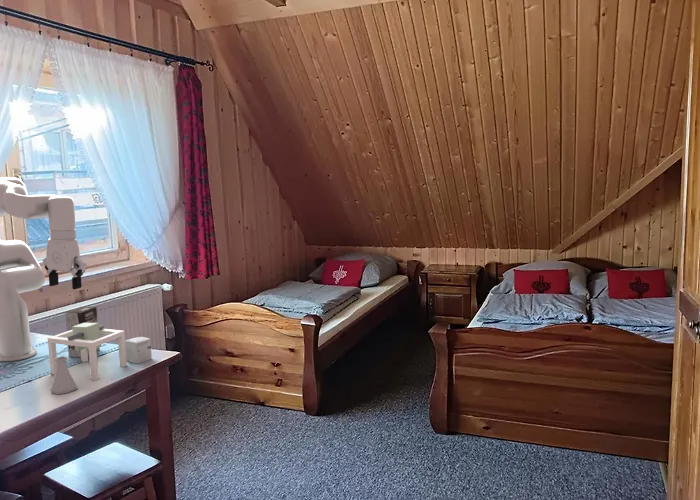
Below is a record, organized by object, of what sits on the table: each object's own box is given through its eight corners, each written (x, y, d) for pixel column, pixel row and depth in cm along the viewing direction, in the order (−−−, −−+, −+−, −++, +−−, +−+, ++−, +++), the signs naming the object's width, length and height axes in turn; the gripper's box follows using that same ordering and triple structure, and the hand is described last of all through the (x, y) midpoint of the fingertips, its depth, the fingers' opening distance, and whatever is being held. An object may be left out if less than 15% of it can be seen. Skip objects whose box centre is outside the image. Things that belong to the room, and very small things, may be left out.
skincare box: (137, 364, 189) (135, 343, 188) (125, 361, 192) (124, 340, 191) (152, 358, 194) (150, 338, 193) (140, 355, 198) (139, 335, 196)
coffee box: (84, 357, 196) (80, 312, 194) (68, 356, 198) (64, 312, 195) (100, 349, 205) (97, 306, 203) (85, 348, 207) (81, 305, 204)
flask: (70, 383, 172) (68, 352, 171) (81, 389, 168) (79, 357, 166) (46, 391, 167) (43, 358, 166) (56, 397, 162) (53, 363, 161)
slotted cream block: (75, 350, 182) (72, 326, 181) (87, 346, 186) (84, 322, 186) (89, 351, 180) (86, 327, 179) (101, 346, 184) (98, 322, 183)
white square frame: (50, 374, 181) (47, 334, 179) (84, 360, 194) (81, 322, 192) (95, 380, 175) (91, 339, 173) (126, 365, 188) (124, 327, 186)
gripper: (32, 234, 180) (35, 286, 183) (74, 238, 175) (77, 292, 177) (51, 231, 187) (54, 281, 190) (92, 235, 182) (95, 287, 184)
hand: (65, 286), depth 184 cm, fingers open, 9 cm apart
